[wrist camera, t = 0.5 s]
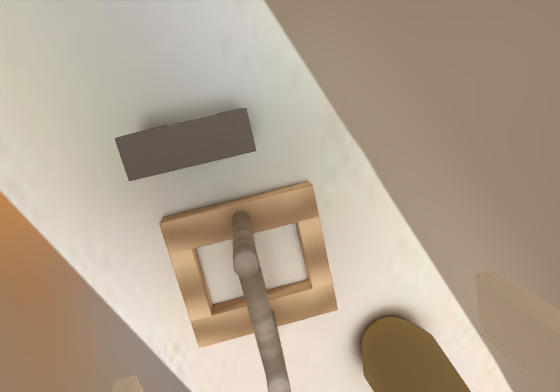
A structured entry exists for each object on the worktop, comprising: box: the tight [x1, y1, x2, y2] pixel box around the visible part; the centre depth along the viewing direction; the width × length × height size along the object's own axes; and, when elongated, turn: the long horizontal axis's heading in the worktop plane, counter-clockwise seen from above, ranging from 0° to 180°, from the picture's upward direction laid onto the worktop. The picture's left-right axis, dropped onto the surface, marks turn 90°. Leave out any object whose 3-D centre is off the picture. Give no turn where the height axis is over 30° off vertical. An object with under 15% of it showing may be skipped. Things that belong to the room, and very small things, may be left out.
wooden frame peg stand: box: [159, 182, 338, 392], centre depth 31 cm, size 13×14×12 cm
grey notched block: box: [115, 108, 256, 181], centre depth 29 cm, size 9×3×8 cm, turn 103°
